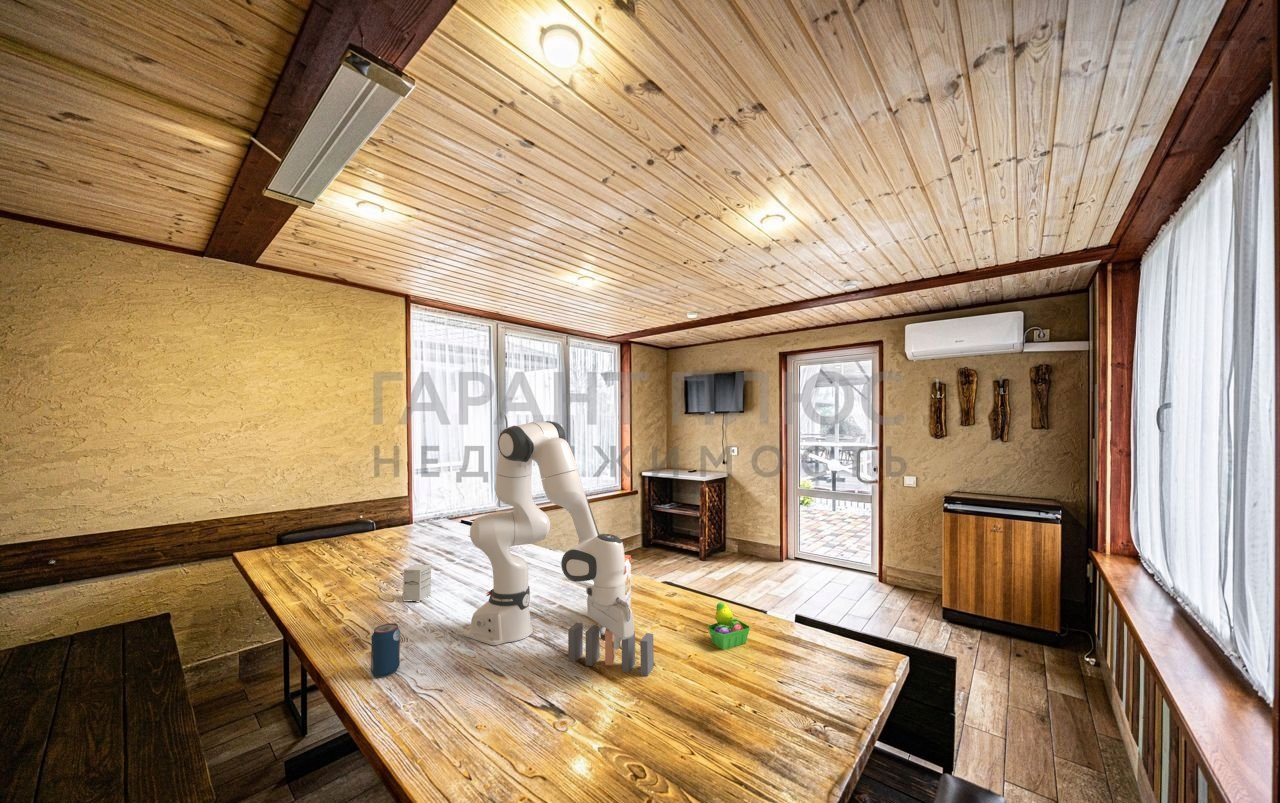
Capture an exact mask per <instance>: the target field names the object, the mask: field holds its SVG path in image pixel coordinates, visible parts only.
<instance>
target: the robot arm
mask: <svg viewBox="0 0 1280 803" xmlns="http://www.w3.org/2000/svg"><path fill="white" fill-rule="evenodd" d="M497 441H498V442H497V444H498V445H497V446H498V451H499V453H498V457H497V464H496V476H495V477H496V480H495V495H496V497H497V498H498V500H499V501H501V502H502V503H504V504H506V505H509V506H511V507H513V510H512V511H508V512H507V511H506V512H495V513H490V514H485V515H482V516H478V517H476V518H475V519H474V520H473V522H472V524H471V526H470V528H469V537H470V540H471V542H472V544H473V545H474V546H475V548H477V549H479V550H480V551H482V552H483V553H484V554H485V556H487V558H488V559H489V561H490V564H491V568H492V569H491V570H492V577H493V580H492V581H493V584H492V585H493V588H492V589H490V591H487V592H486V595H485V596H486V597H489V598H488V601H486V602H485V603H484V604H483V605H481V606H480V607H479V608H478V609H476V610H475V612H474V613H473V614H472V617H471V621H470V624H469V625H468V626H467V627H466V628H465V629H464V630H463V633H462V635H463V636H464V637H466V638H469V639H473V640H476V641H478V642H481V643H484V644H488V645H490V646H498V645H501V644H505V643H513V642H516V641H520V640H523V639H526V638H528V637H529V636H530V635H532V634H533V632H534V627H533V623H532V620H531V614H530V601H531V600H530V598H531V596H530V594H531V592H530V591H531V590H530V586H529V564H528V562H527V560H525V558H523V557H522V556H519V555H516V554H514V553H512V552H511V550H510V549H511V547H515V546H524V545H531V544H534V543H537V542H540V541H544V540H545V539H547V537H548V536H549V535H550V534H549V533H550V531H551V521H550V520H551V519H550V517H549V516H548V515H547V513H546V512H545V511H543V510H541V509H540V507H538V505H537V504H536V503H535V501H534V498H533V494H532V473H533V471H532V469H533V465H532V464H533V461H534V462H535V463H536V464H537V466H538V471H539V475H540V476H539V477H540V479H541V485H542V487H543V492H544V494H545V496H546V498H547V499H548V501H549V502H551V503H552V504H554V505H556V506H559V507H562V508H564V509H565V510H566V511H567V512H568V513H569V514H570V516H571V518H572V522H573V524H574V527H575V531H576V534H577V538H578V544H577V545H574V546H573V547H571V548H569V549H568V550H567V551H566V552H565V553H563V555H562V558H561V563H560V565H561V566H560V567H561V570H562V573H563V575H564V576H565V578H567V579H568V580H570V581H572V582H574V583H575V582H576V583H578V582H580V583H581V582H588V581H591V580H592V581H593V584H592V585H588V586H586V588H585V591H586V595H587V596H586V606H587V609H586V610H587V614H588V618H590V619H592V620H593V621H594V622H596V623H597V626H598V627H599V632H600V640H602V641H603V642H605V630H606V629H608V630H609V631H610V632H612V633H613V634H614V637H615V638H614V641H612V647H613V648H614V649H615V650H619V649H620V648H621V642H622V640H625V639H628V638H631V637H633V635H634V631H635V626H634V625H635V624H634V615H633V611H632V609H630V608H629V606H628V603H627V602H625V601H624V600H625V579H624V569H625V556H624V555H625V549H624V547H625V546H624V544H623V543H624V542H623V541H622V539H621V538H620V537H618V536H617V535H615V534H610V533H600V532H599V530H598V526H597V523H596V521H595V518H594V515H593V512H592V509H591V504H590V502H589V499H588V498H587V495H586V493H585V490H584V487H583V484H582V481H581V478H580V474H579V469H578V465H577V462H576V459H575V457H574V454H573V450H572V449H571V447H570V443H568V441H567V440H566V432H565V430H564V428H563V426H562V425H561V424H560V423H558V422H555V421H550V420H549V421H548V420H547V421H534V422H532V421H531V422H529V423H524V424H519V425H511V426H509V427H506V428H505V429H503V430H502V431H501V432H500V434H499V436H498V440H497Z"/></svg>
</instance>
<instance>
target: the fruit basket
mask: <svg viewBox="0 0 1280 803" xmlns="http://www.w3.org/2000/svg"><path fill="white" fill-rule="evenodd" d="M714 616H715V621H716V623H713V624H709V625H707V629H708V632H709V633H710V638H711V641H712V643H713V645H715V646H717V648H720V649H721V650H723V651H724V650H728V649H731V648H734V647H737V646H738V647H739V646H741V645H745V644H747V640H748V635H749V634H750V633H749V632H750V630H751V626H750V625H749V624H747V623H745V622H743V621H741V620H739V619H738V618H734V613H733V612H732V610H731V609H730V608H729V607H728V606H727V604H726V603H724V602H718V603H717V604H716V611H715V615H714Z"/></svg>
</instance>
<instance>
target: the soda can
mask: <svg viewBox="0 0 1280 803" xmlns="http://www.w3.org/2000/svg"><path fill="white" fill-rule="evenodd" d="M370 644H371V645H370V646H371V649H370V650H371V652H370V654H371V655H370V672H371V674H372V676H374V678H378V679H379V678H382V677H383V678H388V677H390V676H392V675H394V674H395V673H396V672H397V670H398V668H399V667H400V662H401V661H400V660H401V659H400V657H401V656H400V655H401V651H400V650H401V647H400V646H401V630H400V628H399V625H398V624H397V623H395V622H394V623H392V622H390V623H389V622H388V623H385V624H381V625H377V627H375V628H374V630H373V633H372V635H371V642H370Z"/></svg>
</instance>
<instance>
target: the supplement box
mask: <svg viewBox="0 0 1280 803" xmlns="http://www.w3.org/2000/svg"><path fill="white" fill-rule="evenodd" d="M431 578H432V564H419V563H418V564H416V563H414V564H413V565H410V566H408V567H405V568H404V569H403V588H402V591H403V592H402V601H403V600H412V601H420V600H422V599H424V598H426V597H428V596H430V597H431V586H432V584H431V583H432V580H431ZM428 598H429V597H428Z"/></svg>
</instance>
